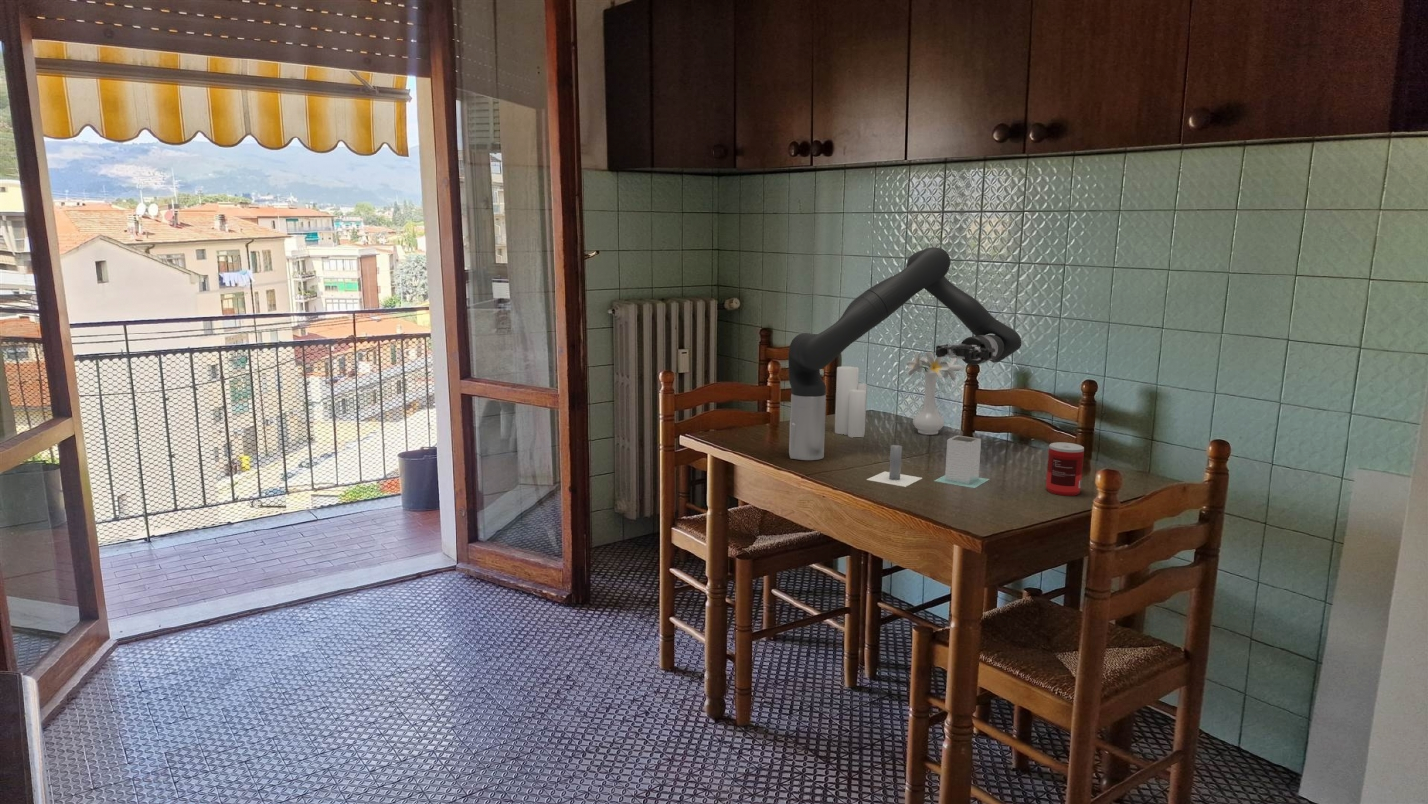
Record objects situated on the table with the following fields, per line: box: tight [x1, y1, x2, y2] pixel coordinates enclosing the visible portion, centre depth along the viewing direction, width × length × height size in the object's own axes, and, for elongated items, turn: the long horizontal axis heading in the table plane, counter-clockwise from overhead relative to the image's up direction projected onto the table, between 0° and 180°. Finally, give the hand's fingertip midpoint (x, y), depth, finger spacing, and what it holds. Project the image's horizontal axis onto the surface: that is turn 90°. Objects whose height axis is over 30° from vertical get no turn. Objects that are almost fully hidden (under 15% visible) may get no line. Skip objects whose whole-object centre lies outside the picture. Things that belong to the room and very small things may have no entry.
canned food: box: [1045, 441, 1085, 497], centre depth 208 cm, size 8×8×11 cm
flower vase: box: [906, 351, 963, 436], centre depth 271 cm, size 13×18×25 cm
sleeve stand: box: [866, 444, 923, 488], centre depth 212 cm, size 10×10×10 cm
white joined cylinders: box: [834, 365, 868, 438], centre depth 268 cm, size 11×7×20 cm, turn 37°
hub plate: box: [933, 474, 991, 489], centre depth 212 cm, size 10×10×10 cm
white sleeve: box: [944, 434, 982, 485], centre depth 211 cm, size 6×6×10 cm
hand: (953, 354), depth 224 cm, fingers open, 8 cm apart
